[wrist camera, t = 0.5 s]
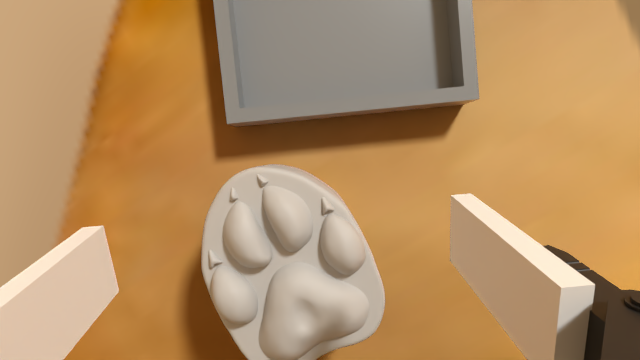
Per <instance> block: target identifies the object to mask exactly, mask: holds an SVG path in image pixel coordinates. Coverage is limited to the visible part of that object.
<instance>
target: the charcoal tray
mask: <svg viewBox="0 0 640 360" xmlns="http://www.w3.org/2000/svg"><path fill="white" fill-rule="evenodd" d="M213 4H214V13H215V22H216V31H217V40H218V49H219V58H220V67H221V76H222V85H223V93H224V102H225V111H226V120H227V124H229V125H231V126H234V127H240V126H251V125H261V124H271V123H281V122H291V121H301V120H312V119H322V118H332V117H342V116H352V115H363V114H373V113H383V112H393V111H403V110H413V109H424V108H434V107H444V106H454V105H464V104H467V103H469V102H472V101H475V100H478V99H479V89H478V75H477V62H476V48H475V35H474V21H473V8H472V0H213Z"/></svg>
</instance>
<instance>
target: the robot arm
mask: <svg viewBox="0 0 640 360" xmlns="http://www.w3.org/2000/svg"><path fill="white" fill-rule="evenodd" d="M450 261H451V263H452V264H453V265H454V266H455V268H456V269H457V270H458V272H459V273H460V274H461V275H462V277H463V278H464V279H465V281H466V282H467V283H468V284H469V286H470V287H471V288H472V290H473V291H474V292H475V293H476V295H477V296H478V297H479V298H480V300H481V301H482V302H483V304H484V305H485V306H486V307H487V309H488V310H489V311H490V313H491V314H492V315H493V316H494V318H495V319H496V320H497V322H498V323H499V324H500V325H501V327H502V328H503V329H504V330H505V332H506V333H507V334H508V336H509V337H510V338H511V339H512V341H513V342H514V343H515V345H516V346H517V347H518V348H519V350H520V351H521V352H522V354H523V355H524V356H525V357H526V359H527V360H640V291H636V290H620V289H619V288H618V287H616V286H615V285H613V284H612V283H610V282H609V281H607V280H606V279H605V278H603V277H602V276H600V275H599V274H597V273H596V272H594V271H593V270H590V268H589V267H587V266H586V265H584V264H583V263H579V261H578V260H577V259H575V258H574V257H573V256H571V255H570V254H568V253H567V252H565V251H562V250H559V249H557V248H554V247H552V246H549V245H547V246H542V245H540V244H539V243H538V242H536V241H535V240H534V239H532V238H531V237H529V236H528V235H527V234H525V233H524V232H523V231H521V230H520V229H519V228H517V227H516V226H514V225H513V224H512V223H510V222H509V221H508V220H506V219H505V218H503V217H502V216H501V215H499V214H498V213H497V212H495V211H494V210H493V209H491V208H490V207H488V206H487V205H486V204H484V203H483V202H482V201H480V200H479V199H477V198H476V197H475V196H473V195H472V194H460V195H451V224H450ZM118 292H119V288H118V284H117V280H116V276H115V272H114V268H113V263H112V259H111V255H110V251H109V247H108V243H107V239H106V234H105V230H104V226H94V227H83V228H81V229H80V230H78V231H77V232H76V233H74V234H73V235H72V236H70V237H69V238H68V239H66V240H65V241H63V242H62V243H61V244H59V245H58V246H57V247H55V248H54V249H52V250H51V251H50V252H48V253H47V254H46V255H44V256H43V257H42V258H40V259H39V260H37V261H36V262H35V263H33V264H32V265H31V266H29V267H28V268H26V269H25V270H24V271H22V272H21V273H20V274H18V275H17V276H16V277H14V278H13V279H11V280H10V281H9V282H7V283H6V284H5V285H4V286H2V287H0V360H63V359H64V358H65V357H66V356H67V354H68V353H69V352H70V351H71V350H72V348H73V347H74V346H75V345H76V343H77V342H78V341H79V340H80V338H81V337H82V336H83V335H84V334H85V332H86V331H87V330H88V329H89V327H90V326H91V325H92V324H93V322H94V321H95V320H96V319H97V318H98V316H99V315H100V314H101V313H102V311H103V310H104V309H105V308H106V307H107V305H108V304H109V303H110V302H111V300H112V299H113V298H114V297H115V295H116V294H117V293H118Z"/></svg>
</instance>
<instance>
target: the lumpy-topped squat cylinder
mask: <svg viewBox="0 0 640 360" xmlns="http://www.w3.org/2000/svg"><path fill="white" fill-rule="evenodd" d="M201 268H202V274H203V277H204V281H205V283H206V286H207V289H208V291H209V294H210V297H211V300H212V302H213V304H214V306H215V308H216V310H217V312H218V314H219V316H220V318H221V320H222V322H223V324H224V325H225V327H226V329H227V330H228V331H229V333H230V335H231V336H232V338H233V340H234V341H235V343H236V344H237V346H238V347H239V349H240V351H241V352H242V353H243V354H244V356H245V357H246V358H247V359H248V360H316V359H318V358H319V357H321V356H322V355H324V354H326V353H328V352H330V351H333V350H336V349H339V348H343V347H346V346H350V345H354V344H356V343H359V342H361V341H363V340H365V339H367V338H369V337H370V336H371V335H372V334H373V333H374V332H375V331H376V329H377V328H378V326H379V324H380V322H381V320H382V316H383V313H384V308H385V292H384V287H383V283H382V280H381V277H380V274H379V271H378V269H377V266H376V263H375V260H374V257H373V255H372V252H371V250H370V248H369V246H368V243H367V241H366V239H365V237H364V235H363V233H362V231H361V230H360V228H359V226H358V224H357V222H356V220H355V219H354V217H353V215H352V214H351V212H350V211H349V209H348V208H347V206H346V204H345V203H344V201H343V200H342V198H341V197H340V196H339V194H338V193H337V192H336V191H335V190H333V189H332V188H331V187H330V186H328V185H327V184H325V183H324V182H323V181H321V180H320V179H318V178H317V177H315V176H313V175H312V174H310V173H308V172H306V171H304V170H301V169H298V168H295V167H291V166H286V165H279V164H270V165H263V166H258V167H254V168H249V169H246V170H243V171H241V172H239V173H237V174H236V175H234V176H233V177H231V178H230V179H229V180H228V181H227V182H226V183H225V184H224V185H223V186H222V187H221V189H220V190H219V192H218V193H217V195H216V197H215V198H214V200H213V202H212V204H211V207H210V209H209V211H208V213H207V216H206V219H205V224H204V229H203V238H202V251H201Z"/></svg>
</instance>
